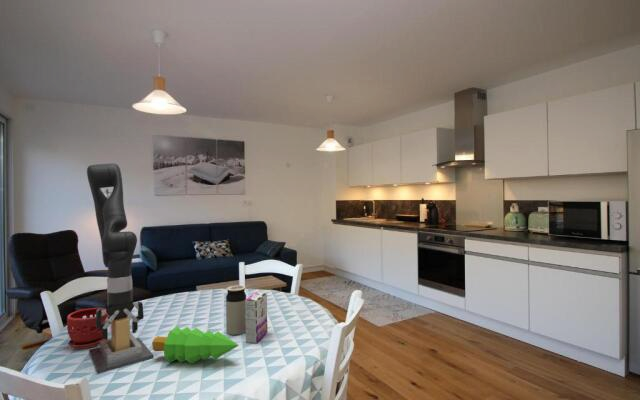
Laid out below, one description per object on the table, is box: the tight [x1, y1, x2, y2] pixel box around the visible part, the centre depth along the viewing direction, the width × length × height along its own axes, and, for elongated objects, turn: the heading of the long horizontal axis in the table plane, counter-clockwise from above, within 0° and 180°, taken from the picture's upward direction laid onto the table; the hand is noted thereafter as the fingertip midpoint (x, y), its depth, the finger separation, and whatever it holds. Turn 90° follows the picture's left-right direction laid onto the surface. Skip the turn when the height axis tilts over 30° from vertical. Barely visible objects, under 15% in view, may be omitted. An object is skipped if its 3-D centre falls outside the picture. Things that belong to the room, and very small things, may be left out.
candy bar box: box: [245, 291, 268, 344], centre depth 130 cm, size 11×5×16 cm, turn 168°
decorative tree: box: [152, 326, 240, 365], centre depth 111 cm, size 11×12×30 cm
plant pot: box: [66, 307, 108, 350], centre depth 126 cm, size 13×13×12 cm
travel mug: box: [225, 285, 247, 336], centre depth 137 cm, size 8×8×18 cm
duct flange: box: [88, 333, 154, 375], centre depth 116 cm, size 20×16×4 cm
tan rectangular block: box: [110, 317, 131, 352], centre depth 116 cm, size 4×9×12 cm, turn 41°
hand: (120, 335), depth 116 cm, fingers open, 8 cm apart
